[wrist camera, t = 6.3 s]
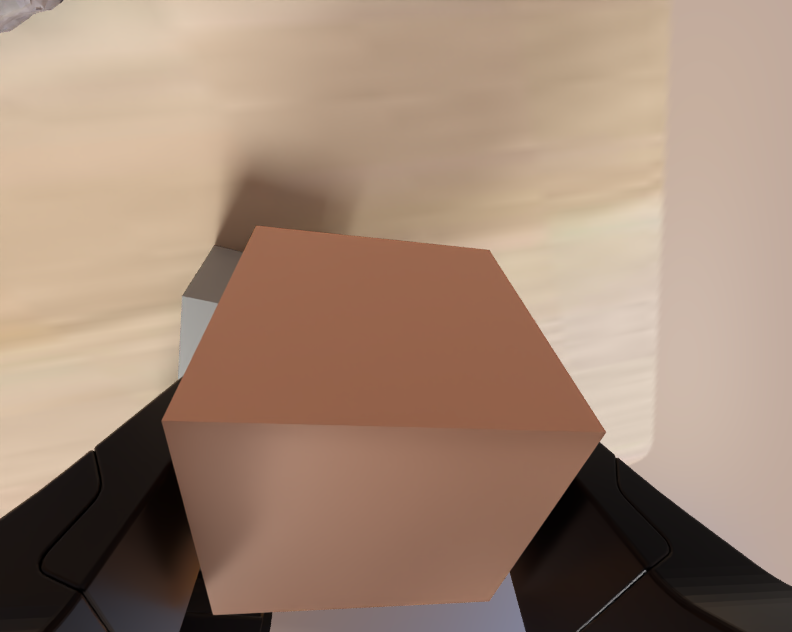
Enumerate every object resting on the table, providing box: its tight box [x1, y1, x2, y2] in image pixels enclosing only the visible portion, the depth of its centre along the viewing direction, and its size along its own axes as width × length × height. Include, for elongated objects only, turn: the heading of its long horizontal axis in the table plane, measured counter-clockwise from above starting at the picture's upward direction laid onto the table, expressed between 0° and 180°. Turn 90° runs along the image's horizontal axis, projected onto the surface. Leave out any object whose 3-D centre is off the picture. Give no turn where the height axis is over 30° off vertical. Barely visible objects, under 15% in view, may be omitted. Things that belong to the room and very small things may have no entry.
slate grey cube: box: [178, 245, 243, 380], centre depth 21 cm, size 5×5×5 cm
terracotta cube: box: [162, 226, 606, 615], centre depth 8 cm, size 5×5×5 cm
